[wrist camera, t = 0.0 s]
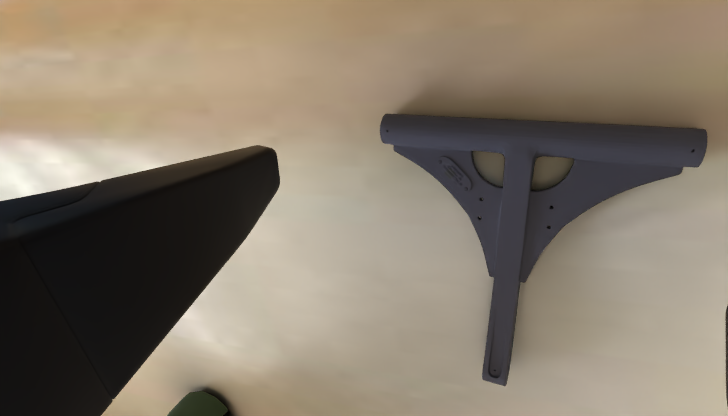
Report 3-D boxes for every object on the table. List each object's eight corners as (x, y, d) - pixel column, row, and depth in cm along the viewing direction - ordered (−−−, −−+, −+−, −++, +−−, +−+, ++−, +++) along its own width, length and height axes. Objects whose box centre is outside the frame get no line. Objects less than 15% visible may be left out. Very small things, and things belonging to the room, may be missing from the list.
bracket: (389, 335, 30) (373, 361, 28) (390, 112, 25) (371, 118, 23) (635, 397, 24) (642, 435, 22) (699, 125, 19) (717, 136, 17)
